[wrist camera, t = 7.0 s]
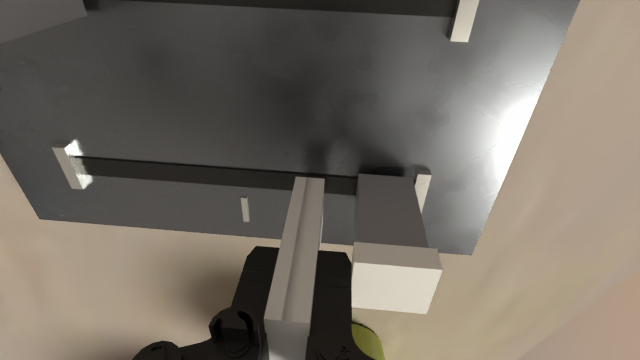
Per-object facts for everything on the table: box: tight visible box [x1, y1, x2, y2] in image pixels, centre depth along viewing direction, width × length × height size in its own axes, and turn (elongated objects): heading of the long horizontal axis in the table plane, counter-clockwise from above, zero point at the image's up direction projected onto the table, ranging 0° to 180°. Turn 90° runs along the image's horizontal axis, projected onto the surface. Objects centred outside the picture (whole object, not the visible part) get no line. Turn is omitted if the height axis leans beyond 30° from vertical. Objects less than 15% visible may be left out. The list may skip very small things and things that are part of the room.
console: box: [0, 0, 580, 255], centre depth 15 cm, size 24×16×2 cm, turn 88°
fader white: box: [351, 174, 442, 314], centre depth 14 cm, size 3×2×5 cm
